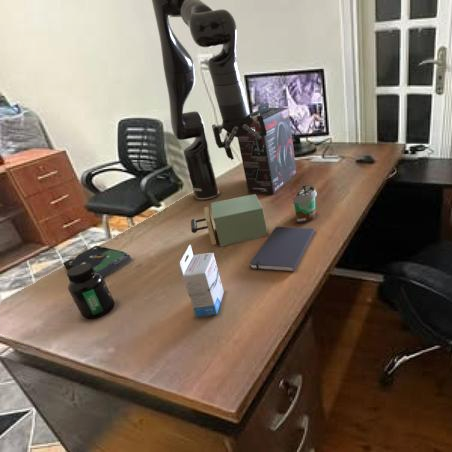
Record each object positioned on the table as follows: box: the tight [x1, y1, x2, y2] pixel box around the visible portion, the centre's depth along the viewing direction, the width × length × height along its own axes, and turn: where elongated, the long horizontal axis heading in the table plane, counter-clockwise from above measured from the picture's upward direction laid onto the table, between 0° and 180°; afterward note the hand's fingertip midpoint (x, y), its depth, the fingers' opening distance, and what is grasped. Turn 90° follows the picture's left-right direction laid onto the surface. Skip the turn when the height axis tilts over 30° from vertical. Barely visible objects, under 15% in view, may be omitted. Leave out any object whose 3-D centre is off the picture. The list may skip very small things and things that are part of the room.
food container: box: [292, 183, 318, 224], centre depth 118 cm, size 12×6×10 cm, turn 168°
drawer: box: [190, 206, 217, 245], centre depth 111 cm, size 18×11×8 cm, turn 111°
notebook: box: [249, 226, 315, 273], centre depth 103 cm, size 13×2×21 cm
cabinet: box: [210, 193, 268, 247], centre depth 112 cm, size 15×13×10 cm
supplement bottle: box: [66, 264, 116, 321], centre depth 81 cm, size 7×7×12 cm
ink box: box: [178, 244, 225, 318], centre depth 79 cm, size 9×5×15 cm, turn 5°
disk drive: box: [63, 245, 132, 278], centre depth 101 cm, size 10×3×15 cm
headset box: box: [237, 101, 297, 195], centre depth 144 cm, size 25×12×33 cm, turn 162°
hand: (246, 154), depth 102 cm, fingers open, 8 cm apart
